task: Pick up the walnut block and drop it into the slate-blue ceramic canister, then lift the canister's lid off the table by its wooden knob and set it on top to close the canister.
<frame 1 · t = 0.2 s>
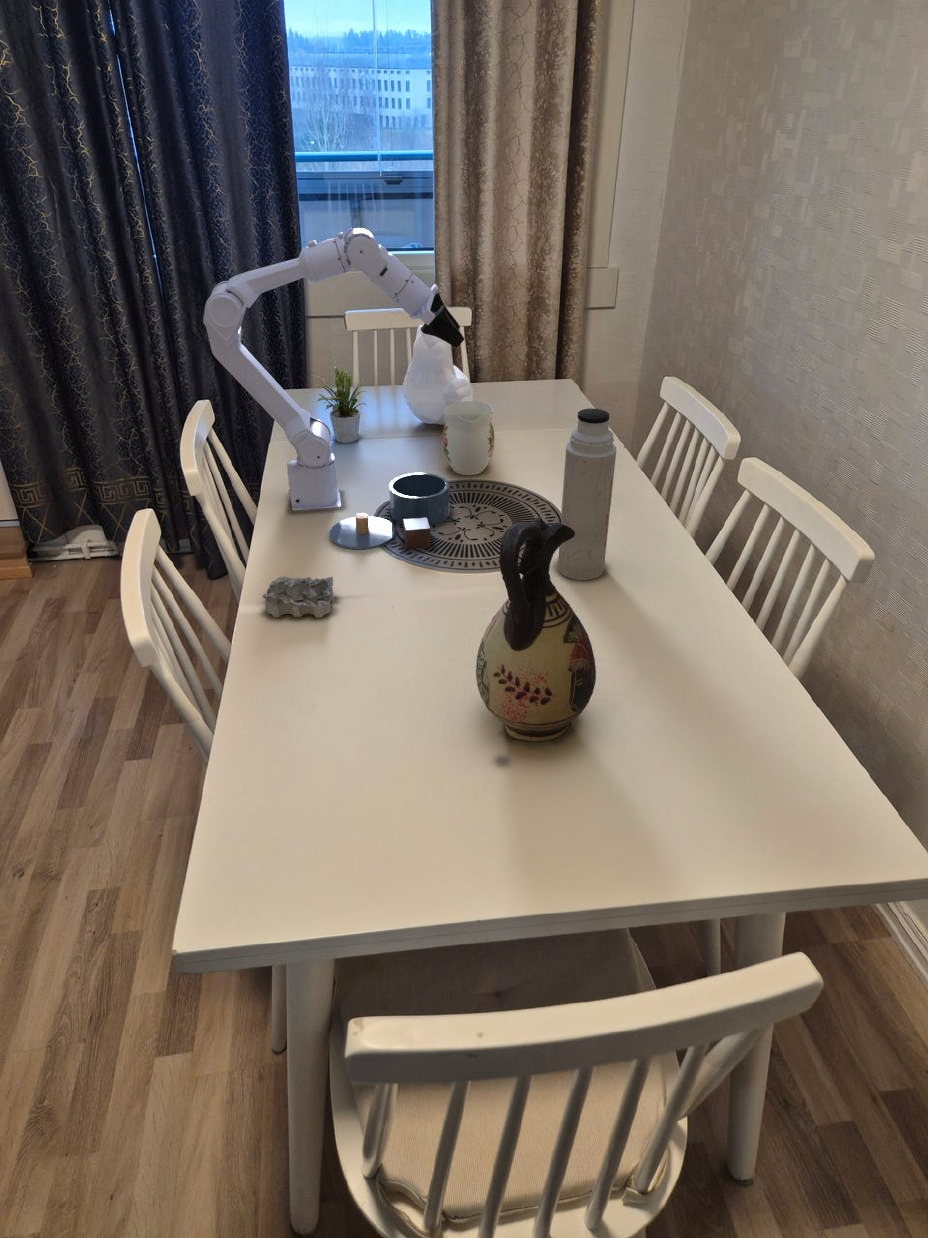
hand: (458, 336, 154), 31 cm above the table, tool tilted 45°, fingers open, 7 cm apart
egg carton: (300, 606, 137), on the table
lid: (362, 533, 156), point 1 cm above the table
thermos bottle: (580, 569, 146), on the table
ceramic jug: (528, 722, 113), on the table
block: (417, 545, 153), on the table
canister: (420, 514, 163), on the table
house plant: (342, 437, 197), on the table
decorative rooster: (443, 428, 202), on the table
pitcher: (468, 467, 182), on the table
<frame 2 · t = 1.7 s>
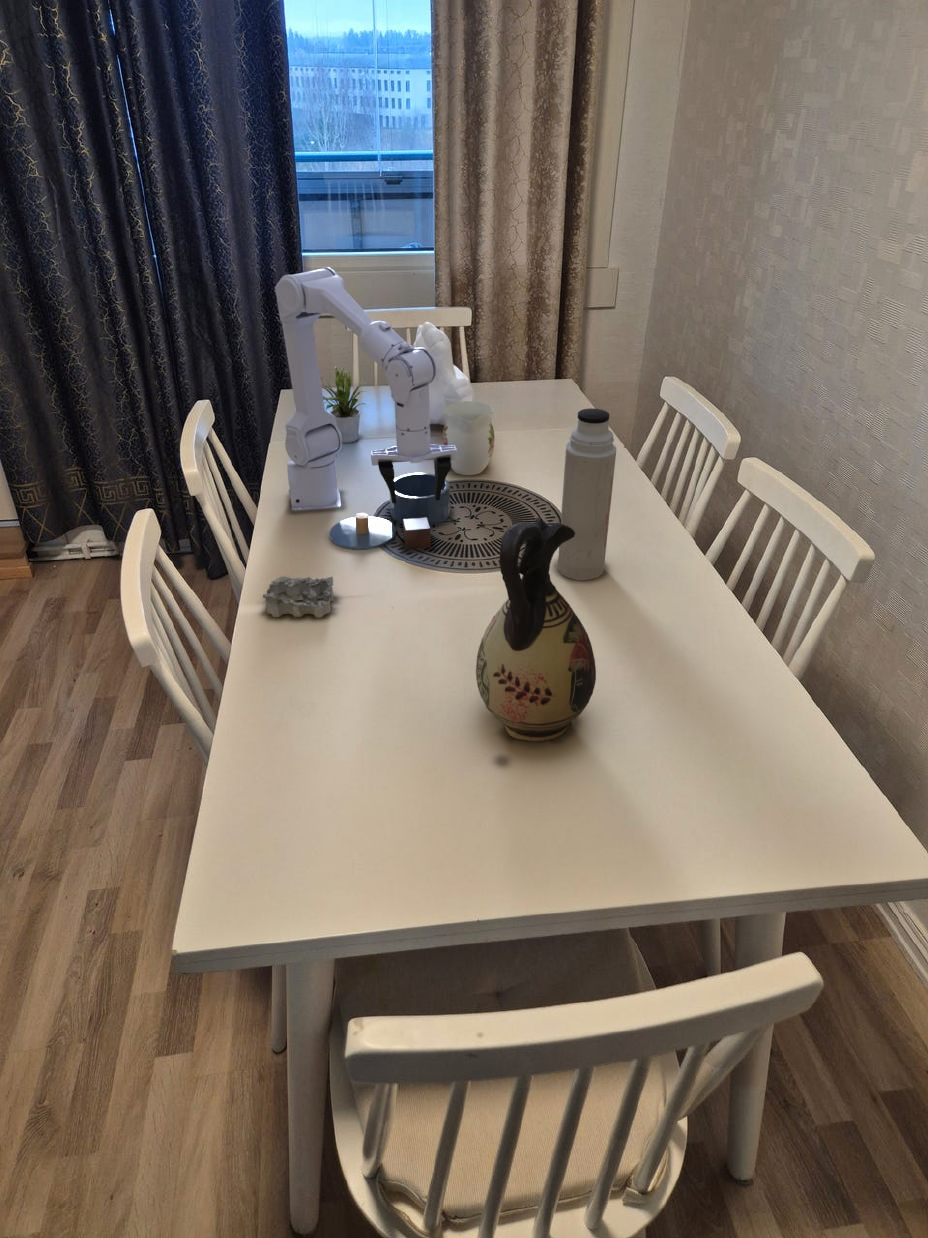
hand: (415, 499, 148), 9 cm above the table, tool pointing down, fingers open, 7 cm apart
nothing on the table moved.
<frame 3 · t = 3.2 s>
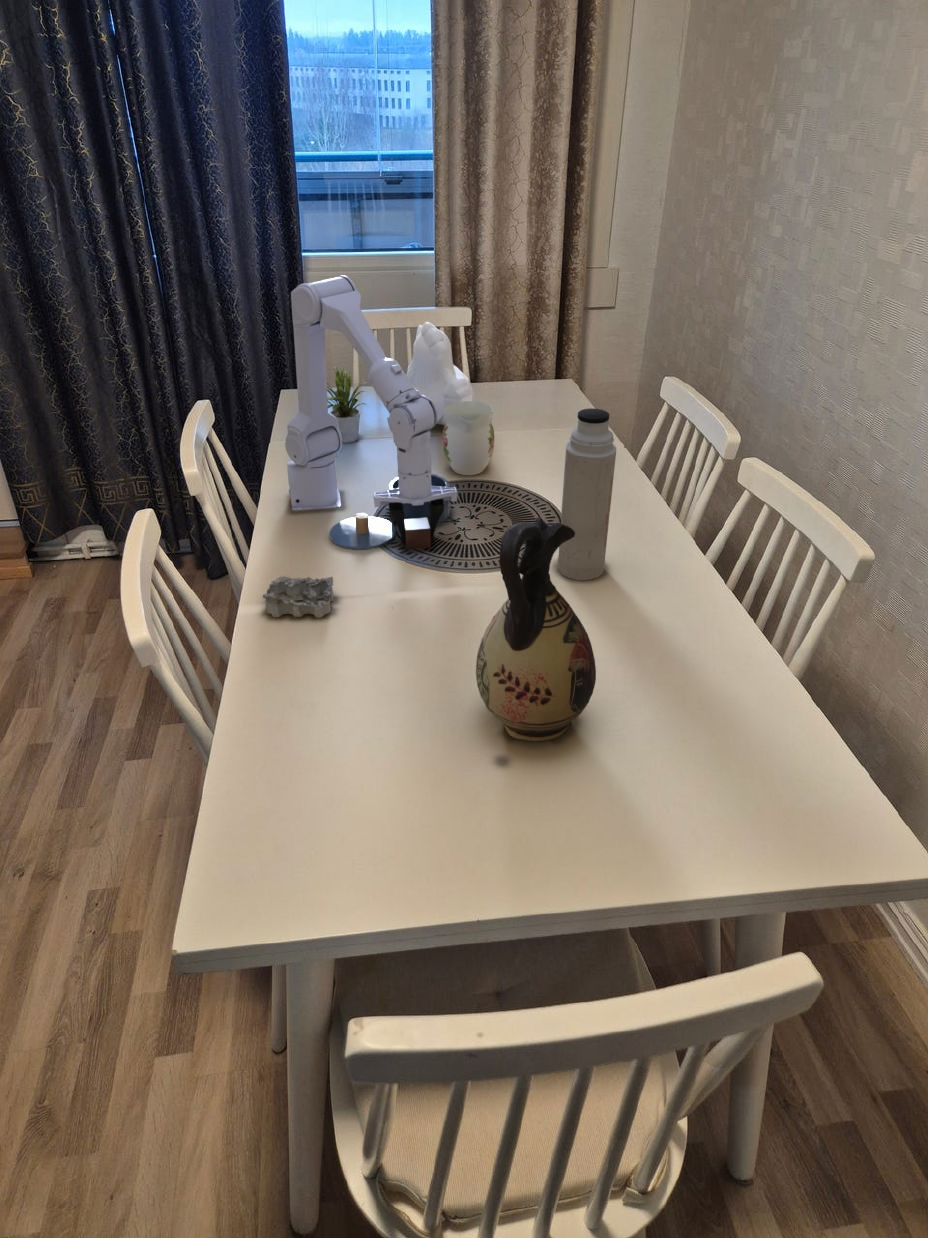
hand: (416, 538, 152), 1 cm above the table, tool pointing down, fingers closed on block, 4 cm apart
block: (417, 545, 153), on the table, touching gripper
everything else where it was.
when the fingers open (5 cm above the table, at t = 7.4 s): block drops 3 cm, resting on canister.
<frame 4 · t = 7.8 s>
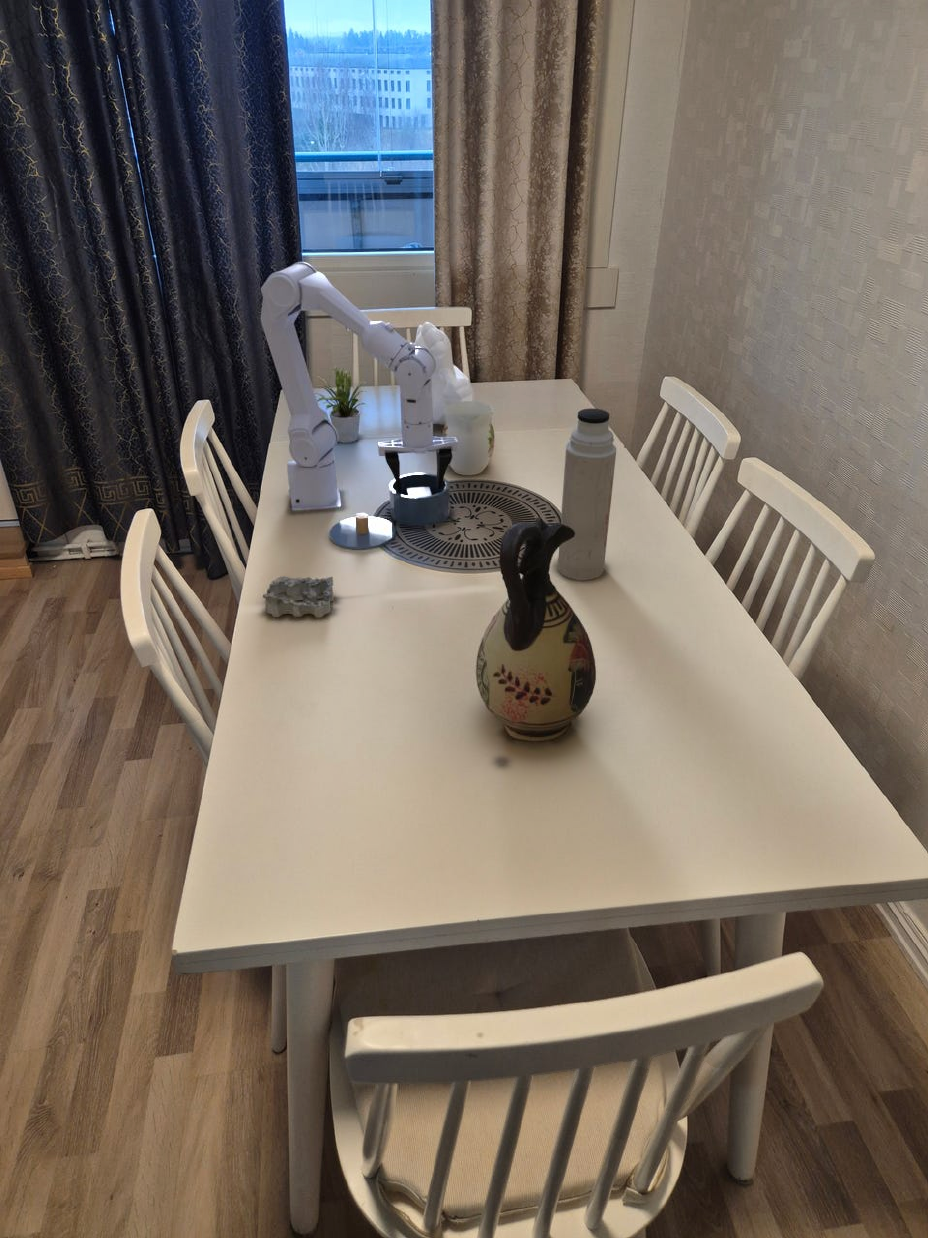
hand: (419, 487, 160), 6 cm above the table, tool pointing down, fingers open, 7 cm apart
block: (419, 512, 163), resting on canister
everything else where it was.
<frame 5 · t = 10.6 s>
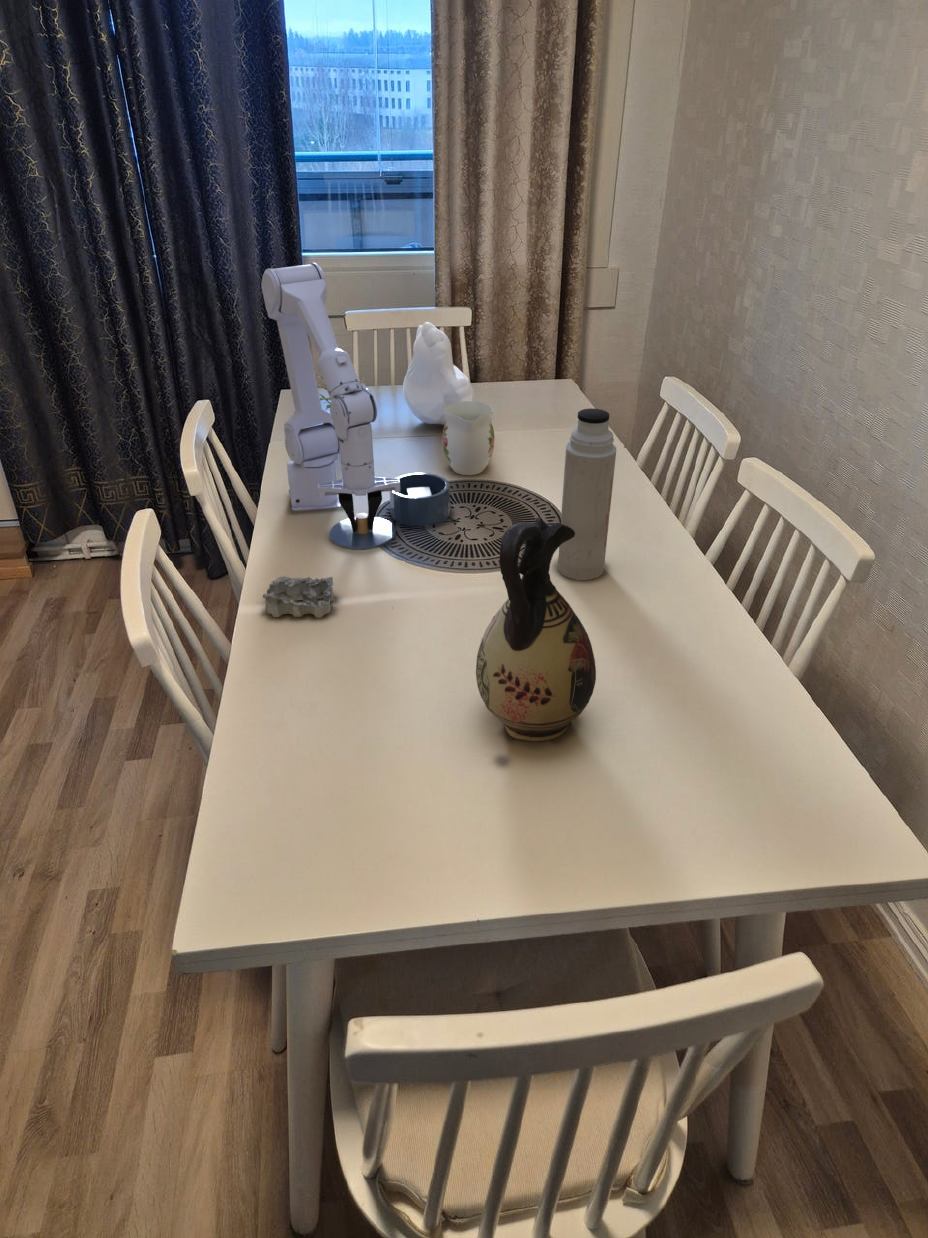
hand: (362, 528, 155), 2 cm above the table, tool pointing down, fingers closed on lid, 2 cm apart
lid: (363, 533, 156), point 1 cm above the table, touching gripper
everything else where it was.
when the fingers open (7 cm above the table, at t = 13.9 s): lid stays where it is, resting on canister.
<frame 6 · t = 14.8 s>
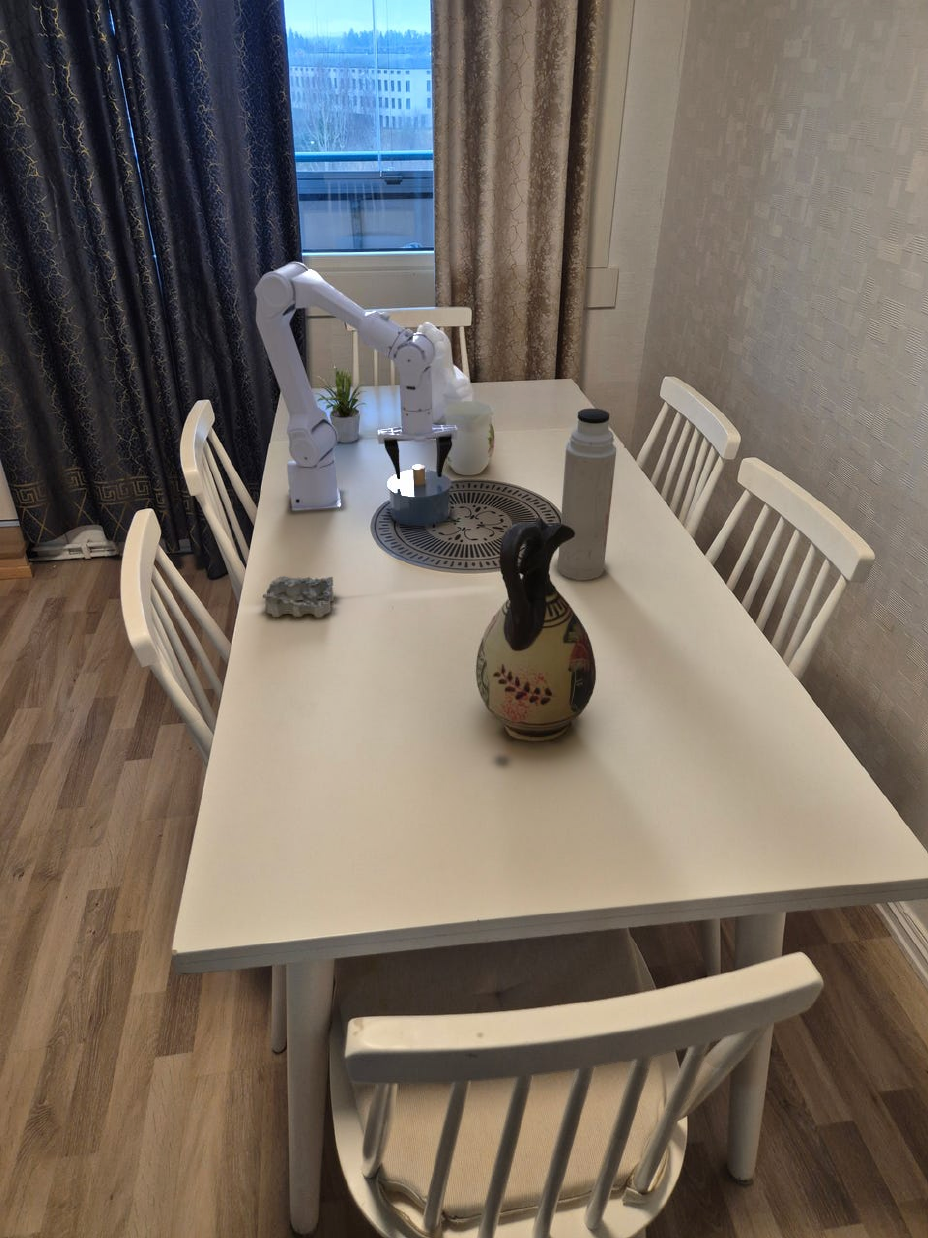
hand: (418, 476, 159), 8 cm above the table, tool pointing down, fingers open, 7 cm apart
lid: (419, 485, 160), point 6 cm above the table, touching canister
everything else where it was.
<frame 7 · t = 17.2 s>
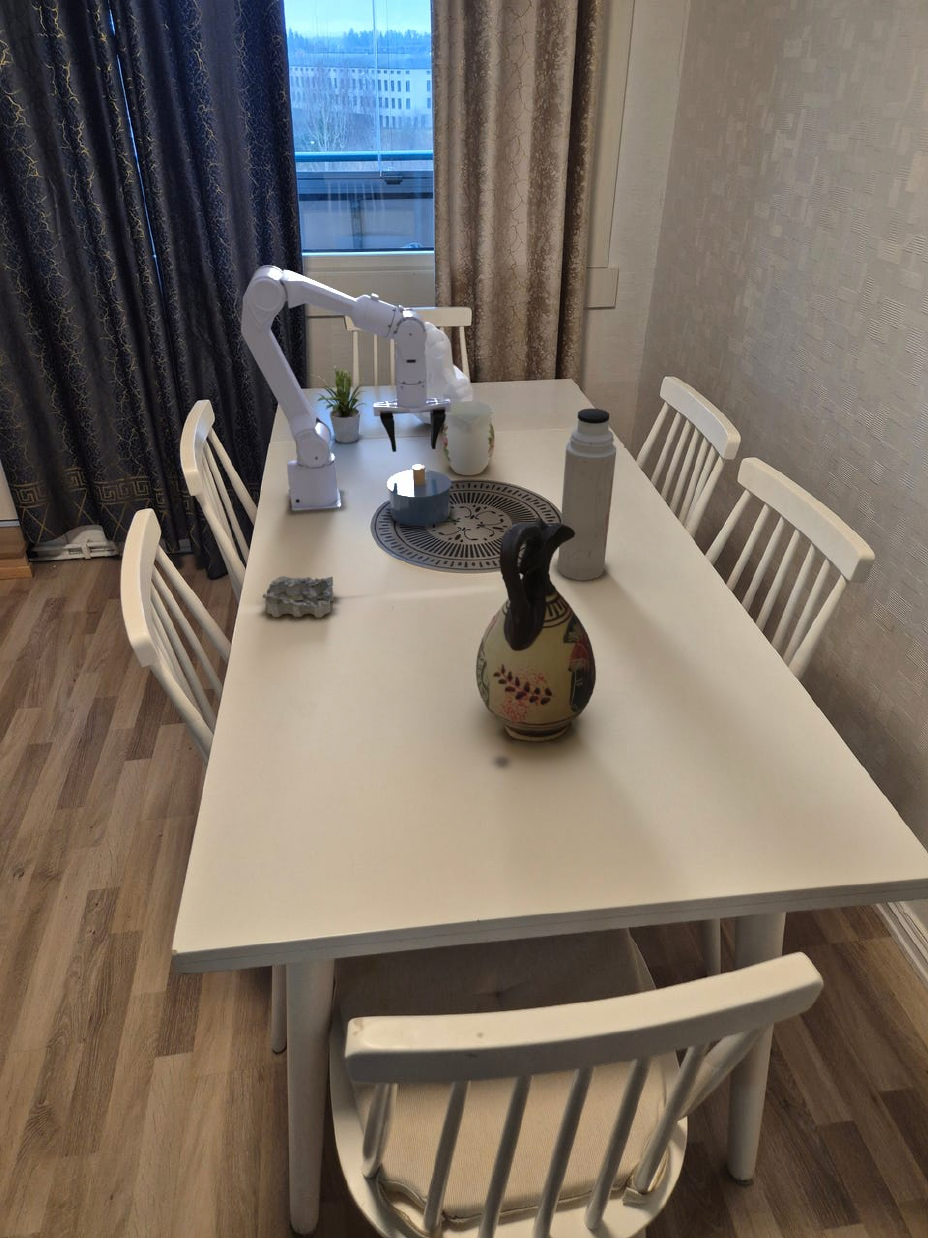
hand: (413, 448, 164), 10 cm above the table, tool pointing down, fingers open, 7 cm apart
nothing on the table moved.
at the end: block inside the target area in the canister (0.1 cm from its centre), point 0.5 cm above the canister's base; lid 0.1 cm off-centre on the canister, point 6.3 cm above the canister's base; lid tilted 0° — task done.
